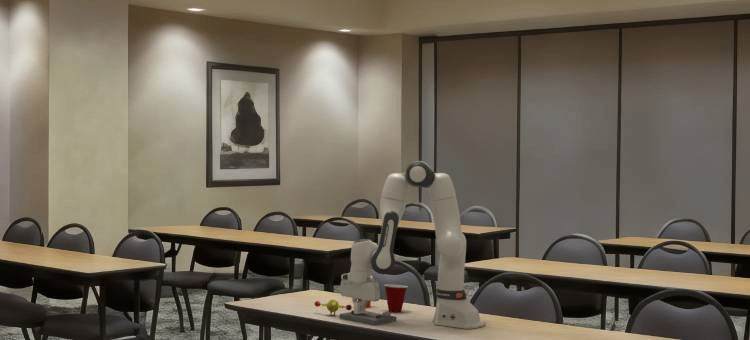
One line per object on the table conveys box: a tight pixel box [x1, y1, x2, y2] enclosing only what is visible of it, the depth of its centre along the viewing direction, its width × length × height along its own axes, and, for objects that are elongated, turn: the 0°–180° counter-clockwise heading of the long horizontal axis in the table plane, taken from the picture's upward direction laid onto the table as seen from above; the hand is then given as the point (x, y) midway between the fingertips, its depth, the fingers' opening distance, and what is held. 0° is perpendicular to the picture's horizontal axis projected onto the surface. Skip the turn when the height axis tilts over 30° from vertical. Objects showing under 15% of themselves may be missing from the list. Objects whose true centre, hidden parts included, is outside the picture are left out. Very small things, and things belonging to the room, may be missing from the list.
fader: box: [353, 300, 366, 314], centre depth 404 cm, size 2×5×5 cm, turn 138°
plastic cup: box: [383, 283, 409, 313], centre depth 425 cm, size 11×11×12 cm
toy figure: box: [314, 299, 353, 317], centre depth 410 cm, size 18×6×7 cm, turn 64°
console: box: [339, 309, 397, 326], centre depth 402 cm, size 20×14×4 cm
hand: (359, 309), depth 404 cm, fingers closed on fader, 2 cm apart
